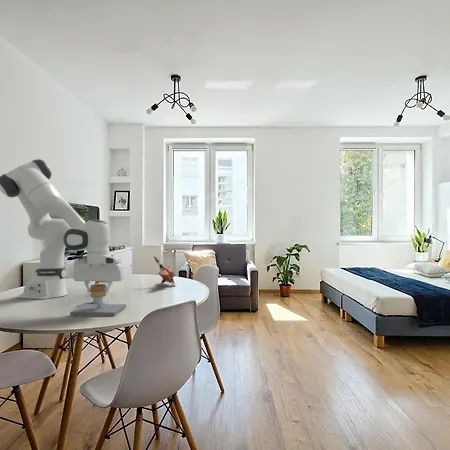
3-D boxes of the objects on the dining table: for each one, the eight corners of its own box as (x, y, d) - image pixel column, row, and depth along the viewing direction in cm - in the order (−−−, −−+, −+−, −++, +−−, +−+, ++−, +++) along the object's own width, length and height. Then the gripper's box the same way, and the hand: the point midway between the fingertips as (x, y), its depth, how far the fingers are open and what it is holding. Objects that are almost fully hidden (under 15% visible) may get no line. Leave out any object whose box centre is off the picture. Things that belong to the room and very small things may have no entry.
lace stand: (70, 315, 143) (69, 290, 143) (85, 307, 157) (85, 284, 157) (114, 316, 142) (114, 290, 142) (126, 307, 156) (125, 284, 156)
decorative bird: (150, 276, 223) (159, 253, 222) (177, 287, 222) (186, 265, 222) (137, 284, 194) (147, 258, 194) (168, 297, 194) (179, 271, 193)
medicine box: (99, 300, 171) (99, 282, 171) (108, 300, 171) (108, 282, 171) (92, 304, 163) (92, 285, 163) (102, 304, 163) (102, 285, 163)
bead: (88, 297, 147) (88, 286, 147) (94, 294, 153) (94, 283, 153) (102, 297, 146) (102, 286, 146) (108, 294, 152) (108, 283, 152)
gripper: (70, 259, 147) (70, 293, 147) (119, 259, 146) (120, 293, 146) (77, 257, 153) (77, 290, 153) (124, 257, 152) (125, 290, 152)
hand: (98, 292), depth 150 cm, fingers closed on bead, 6 cm apart
